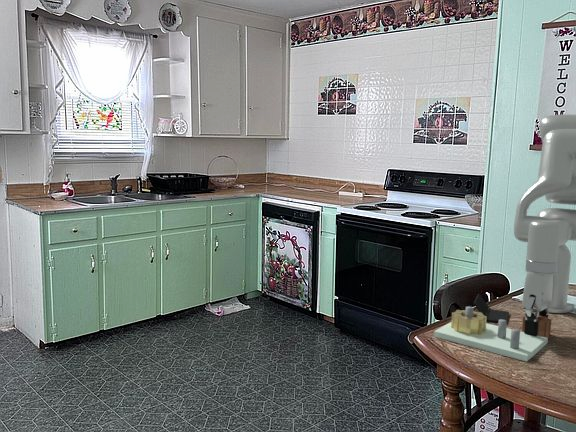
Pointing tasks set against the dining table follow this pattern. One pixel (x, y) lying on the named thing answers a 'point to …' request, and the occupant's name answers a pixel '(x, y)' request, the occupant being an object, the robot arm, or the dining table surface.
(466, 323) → the brass gear
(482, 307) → the dark grey angled bracket
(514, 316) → the dining table surface
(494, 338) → the gear board
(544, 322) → the rust gear
